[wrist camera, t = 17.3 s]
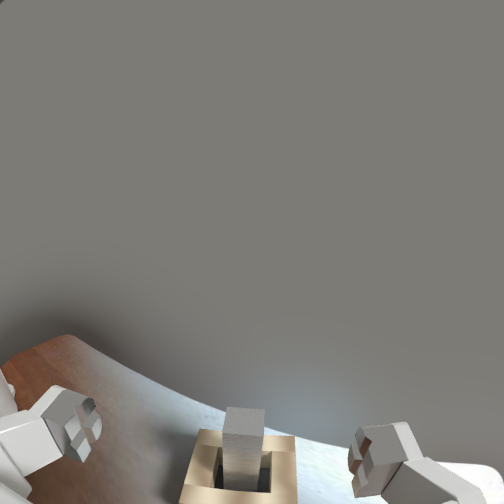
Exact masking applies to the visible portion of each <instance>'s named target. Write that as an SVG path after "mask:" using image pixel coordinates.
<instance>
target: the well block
mask: <svg viewBox="0 0 504 504" xmlns="http://www.w3.org/2000/svg"><path fill="white" fill-rule="evenodd" d="M219 465H223V447H222V431H214V430H207V429H200V430H199V433H198V436H197V440H196V443H195V447H194V450H193V454H192V457H191V461H190V464H189V468H188V471H187V475H186V478H185V482H184V485H183V489H182V492H181V496H180V499H179V504H298V501H297V476H296V455H295V436H275V435H264V438H263V446H262V454H261V462H260V468H263V469H269V490H268V493H259V492H244V491H233V490H224V489H216V488H215V482H216V477H217V472H218V467H219Z"/></svg>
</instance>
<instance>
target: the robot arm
mask: <svg viewBox="0 0 504 504" xmlns="http://www.w3.org/2000/svg"><path fill="white" fill-rule="evenodd" d="M3 1H4V0H0V4H1V3H2V2H3ZM14 397H15V389H14V387H13V386H12V385H11V384H7V382H6V380H5V378H4V376H3V374H2V372H1V370H0V504H33V503H31V502H30V501H28V500H27V499H26V498H27V497H28V495H29V494H30V492H31V491H32V488H31V485H30V484H29V483H28V482H27V481H26V479H25V478H24V477H25V476H27V475H29V474H31V473H32V472H34V471H36V470H38V469H40V468H42V467H44V466H46V465H47V464H49V463H51V462H53V461H55V460H56V459H58V458H60V457H62V456H63V455H64V456H67V457H69V458H72V459H74V460H77V461H80V462H82V463H83V462H84V461H85V459H86V457H87V456H88V454H89V452H90V451H91V446H90V444H91V443H93V442H95V441H97V439H98V438H99V436H100V433H101V429H102V424H101V419H100V416H99V415H98V414H97V413H96V412H95V411H94V409H95V407H96V405H95V402H94V399H92V398H90V397H88V396H85V395H82V394H79V393H76V392H73V391H71V390H68V389H65V388H62V387H60V386H57V385H54V386H52V387H51V388H50V389H49V390H48V391H47V392H46V393H45V394H44V395H43V396H42V397H41V398H40V399H39V400H38V401H37V402H36V404H35V405H34V406H33V407H32V408H31V409H30V410H29V411H27V410H23V411H20V412H18V409H17V405H16V402H15V399H14ZM355 437H356V441H355V442H354V443H352V444H351V446H350V449H349V453H348V467H349V471H350V472H351V473H352V474H354V475H355V476H354V478H353V480H352V487H353V492H354V497H355V498H359V497H368V496H375V495H381V497H382V498H383V499H384V500H385V501H386V502H387V503H388V504H487V502H486V500H485V498H484V496H483V494H482V492H481V490H480V488H478V487H476V486H475V485H473V484H471V483H469V482H468V481H466V480H464V479H463V478H461V477H459V476H458V475H456V474H454V473H453V472H451V471H449V470H448V469H446V468H444V467H443V466H441V465H440V464H438V463H436V462H435V461H433V460H431V459H430V458H428V457H425V458H423V456H422V454H421V451H420V449H419V447H418V445H417V442H416V441H415V438H414V436H413V434H412V432H411V430H410V427H409V425H408V424H407V423H406V422H399V423H392V424H382V425H374V426H364V427H359V428H358V429H357V432H356V434H355Z"/></svg>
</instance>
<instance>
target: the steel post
mask: <svg viewBox="0 0 504 504" xmlns="http://www.w3.org/2000/svg"><path fill="white" fill-rule="evenodd" d="M264 420H265V410H262V409H261V410H260V409H246V408H236V407H227V411H226V416H225V421H224V426H223V431H222V447H223V478H224V490H233V491H244V492H257V485H258V478H259V470H260V462H261V454H262V446H263V438H264Z"/></svg>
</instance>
